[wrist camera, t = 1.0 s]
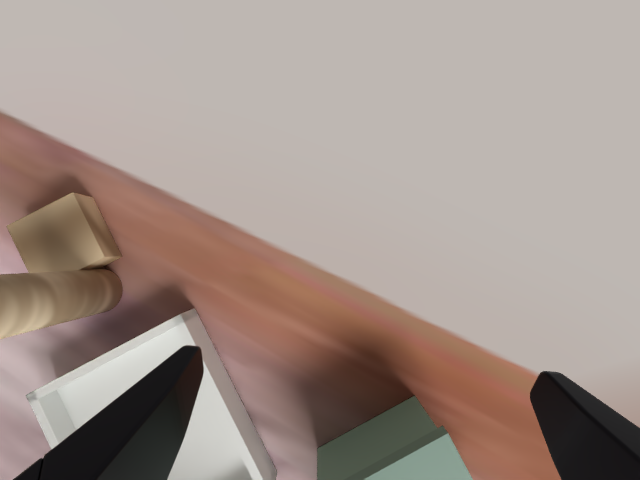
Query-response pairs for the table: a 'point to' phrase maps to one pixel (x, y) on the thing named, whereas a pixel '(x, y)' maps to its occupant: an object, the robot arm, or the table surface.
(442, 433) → the green lidded box
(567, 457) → the robot arm
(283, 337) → the table surface
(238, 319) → the table surface
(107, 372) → the tray
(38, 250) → the tan cylinder with block
